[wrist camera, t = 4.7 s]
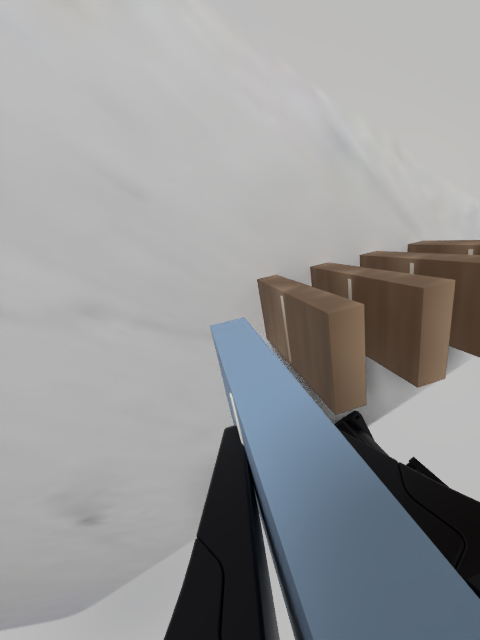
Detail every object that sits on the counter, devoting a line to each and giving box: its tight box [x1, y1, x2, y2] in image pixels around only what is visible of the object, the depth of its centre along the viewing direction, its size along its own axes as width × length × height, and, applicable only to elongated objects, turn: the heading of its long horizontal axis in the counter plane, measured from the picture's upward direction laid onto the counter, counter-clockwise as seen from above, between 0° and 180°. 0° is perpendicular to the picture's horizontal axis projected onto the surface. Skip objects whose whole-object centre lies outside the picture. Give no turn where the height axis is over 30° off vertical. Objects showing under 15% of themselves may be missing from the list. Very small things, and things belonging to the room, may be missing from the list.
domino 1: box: [257, 275, 366, 415], centre depth 15 cm, size 2×5×10 cm, turn 11°
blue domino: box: [210, 318, 480, 640], centre depth 7 cm, size 2×5×10 cm, turn 11°
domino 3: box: [408, 240, 480, 255], centre depth 17 cm, size 2×5×10 cm, turn 11°
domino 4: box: [360, 251, 480, 357], centre depth 17 cm, size 2×5×10 cm, turn 11°
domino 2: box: [310, 263, 455, 387], centre depth 16 cm, size 2×5×10 cm, turn 11°
